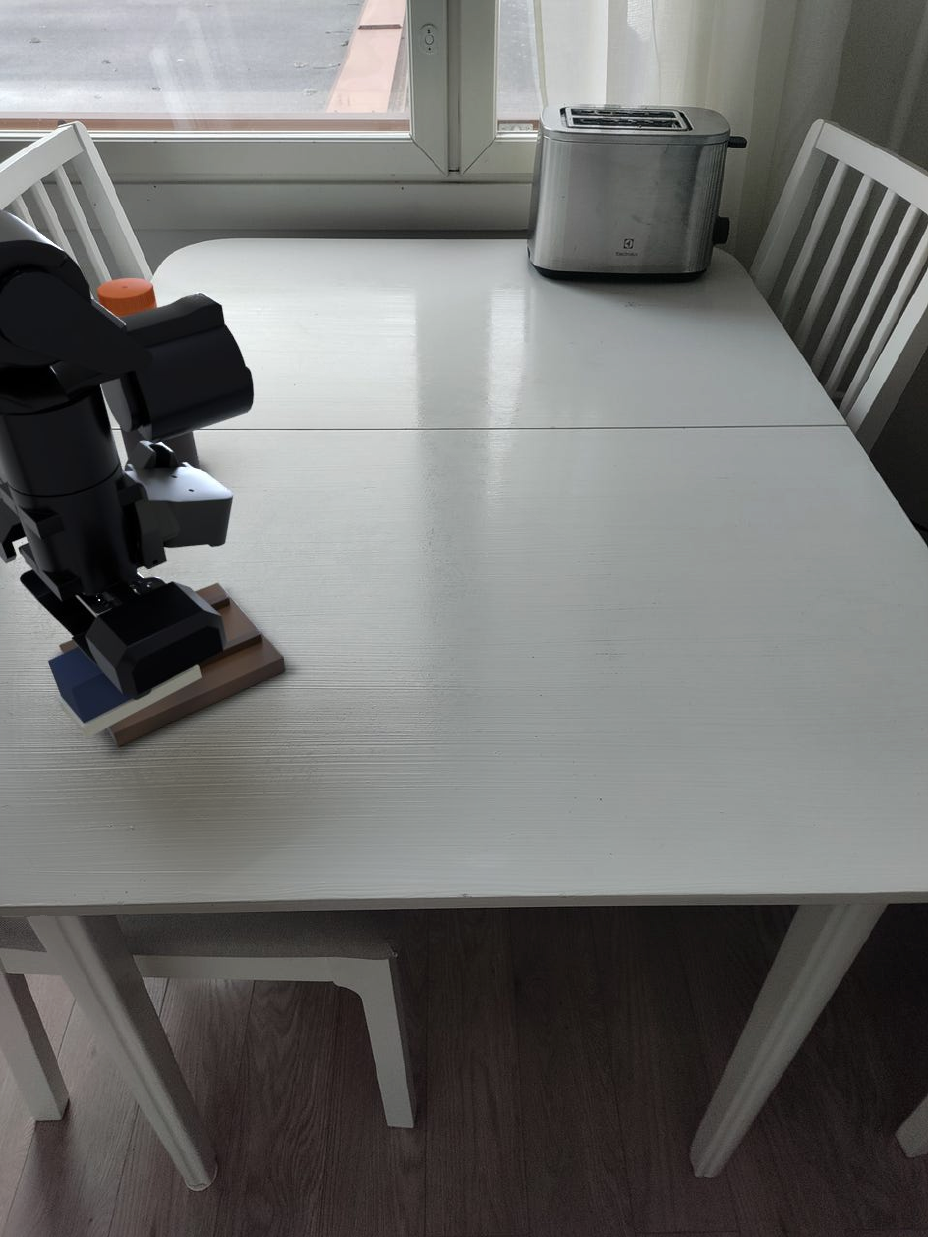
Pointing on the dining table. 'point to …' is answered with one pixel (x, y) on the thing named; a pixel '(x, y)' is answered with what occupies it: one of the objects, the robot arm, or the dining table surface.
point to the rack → (208, 671)
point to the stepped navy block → (103, 692)
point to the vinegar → (132, 299)
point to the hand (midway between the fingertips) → (128, 681)
